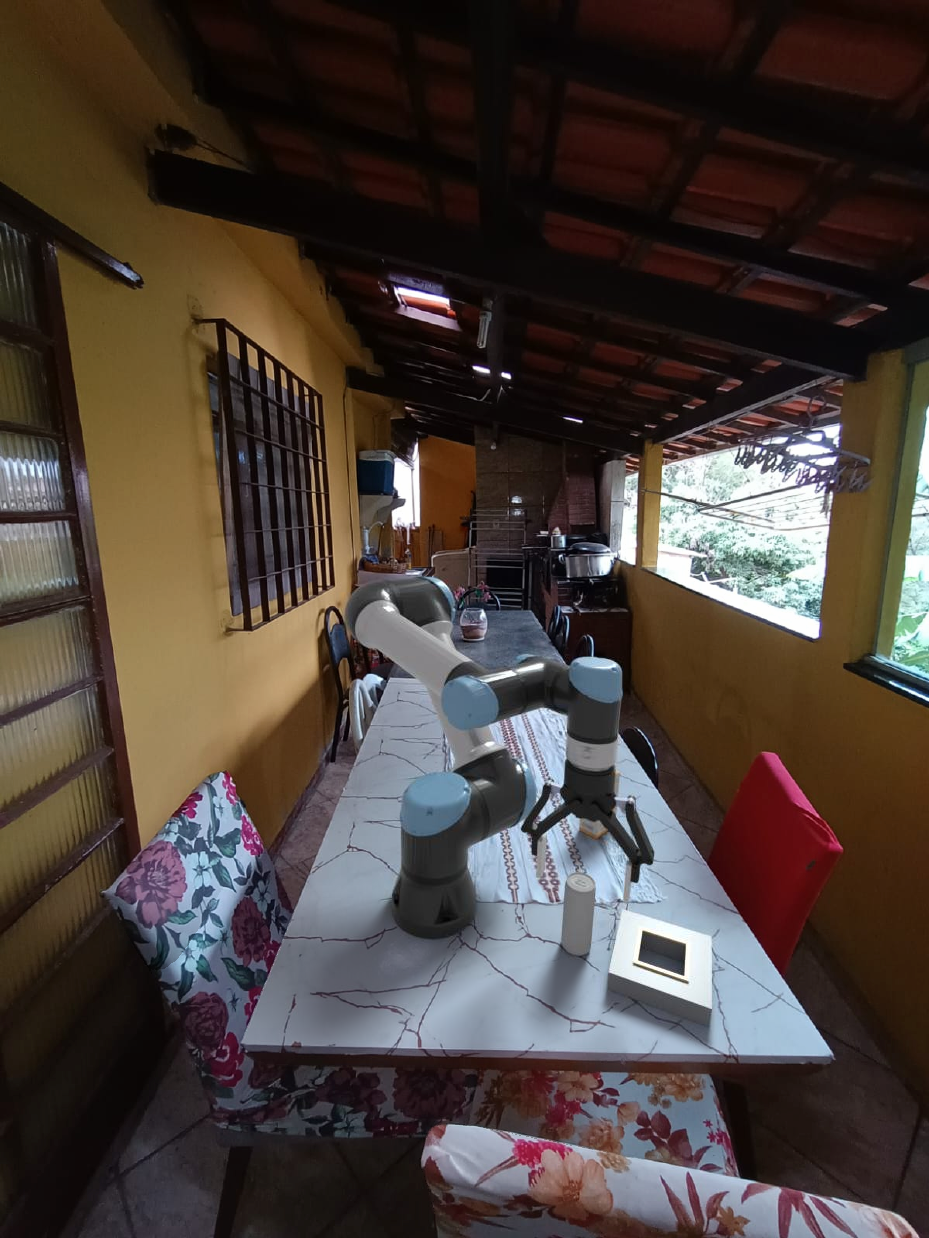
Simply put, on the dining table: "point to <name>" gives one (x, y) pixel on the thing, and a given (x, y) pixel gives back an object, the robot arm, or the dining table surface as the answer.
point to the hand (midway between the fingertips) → (582, 884)
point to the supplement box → (596, 827)
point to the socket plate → (659, 985)
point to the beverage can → (578, 913)
